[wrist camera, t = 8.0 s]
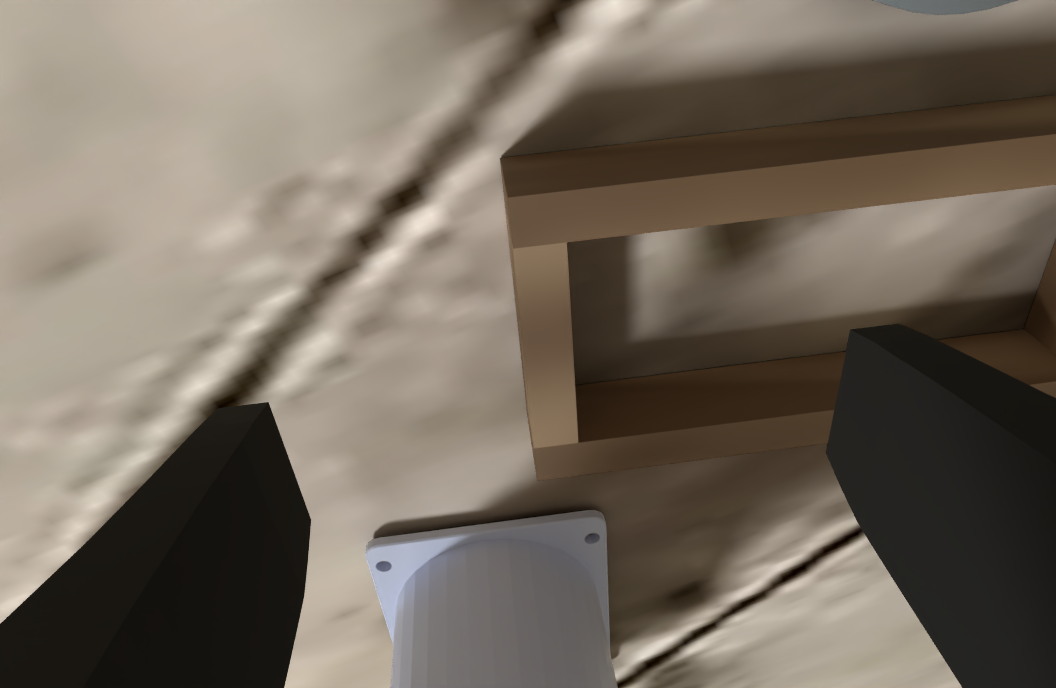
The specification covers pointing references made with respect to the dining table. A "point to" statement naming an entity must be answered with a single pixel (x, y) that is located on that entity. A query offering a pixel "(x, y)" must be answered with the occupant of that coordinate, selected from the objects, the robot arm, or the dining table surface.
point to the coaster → (944, 5)
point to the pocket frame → (735, 196)
